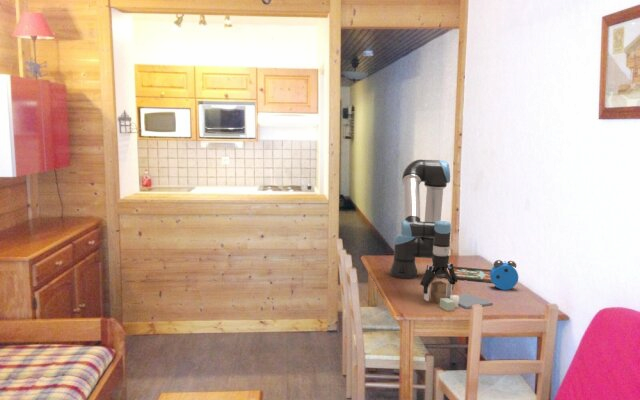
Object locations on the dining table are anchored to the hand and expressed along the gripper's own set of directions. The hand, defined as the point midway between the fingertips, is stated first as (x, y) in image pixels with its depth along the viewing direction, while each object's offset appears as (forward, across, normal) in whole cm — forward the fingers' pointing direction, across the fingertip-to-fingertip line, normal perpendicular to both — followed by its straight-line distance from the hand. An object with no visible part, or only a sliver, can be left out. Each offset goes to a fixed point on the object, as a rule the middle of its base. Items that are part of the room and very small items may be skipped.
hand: (437, 298), depth 253 cm
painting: (+2, +48, +32) cm, 58 cm away
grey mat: (+1, +13, -6) cm, 14 cm away
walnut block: (+1, 0, 0) cm, 1 cm away
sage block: (+1, -3, -10) cm, 11 cm away
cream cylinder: (+1, +2, -9) cm, 9 cm away
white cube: (+1, +8, +7) cm, 11 cm away
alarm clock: (+1, +46, +4) cm, 46 cm away
